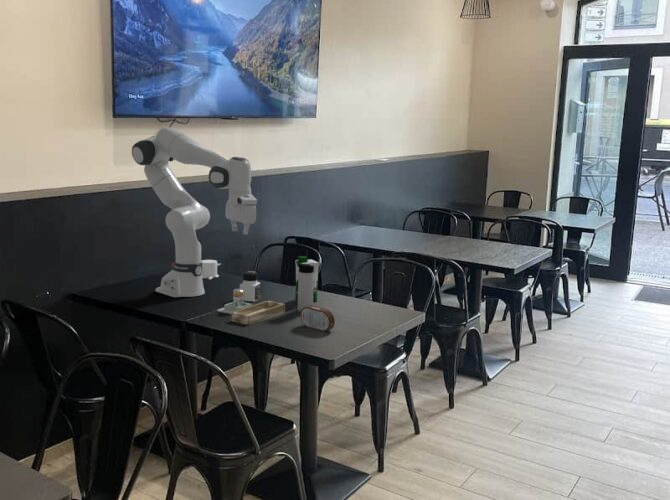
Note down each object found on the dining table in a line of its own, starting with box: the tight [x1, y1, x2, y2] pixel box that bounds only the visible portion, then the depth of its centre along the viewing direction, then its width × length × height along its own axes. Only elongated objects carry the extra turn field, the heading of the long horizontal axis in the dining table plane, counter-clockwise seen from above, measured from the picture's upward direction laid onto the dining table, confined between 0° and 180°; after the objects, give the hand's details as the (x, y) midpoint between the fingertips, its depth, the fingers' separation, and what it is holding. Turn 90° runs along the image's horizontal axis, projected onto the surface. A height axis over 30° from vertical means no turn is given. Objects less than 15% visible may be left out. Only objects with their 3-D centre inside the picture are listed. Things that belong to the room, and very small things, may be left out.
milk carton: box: [294, 255, 320, 303], centre depth 298 cm, size 9×9×20 cm
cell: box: [232, 288, 244, 307], centre depth 282 cm, size 4×4×8 cm
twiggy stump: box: [201, 259, 222, 280], centre depth 342 cm, size 20×19×8 cm
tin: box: [300, 304, 336, 332], centre depth 261 cm, size 15×3×8 cm, turn 51°
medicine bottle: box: [239, 271, 261, 303], centre depth 300 cm, size 7×7×12 cm
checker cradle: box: [216, 301, 253, 315], centre depth 282 cm, size 12×12×3 cm
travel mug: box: [297, 264, 314, 313], centre depth 283 cm, size 6×7×20 cm
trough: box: [230, 300, 286, 326], centre depth 275 cm, size 9×23×4 cm, turn 149°
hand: (240, 232), depth 280 cm, fingers open, 8 cm apart
